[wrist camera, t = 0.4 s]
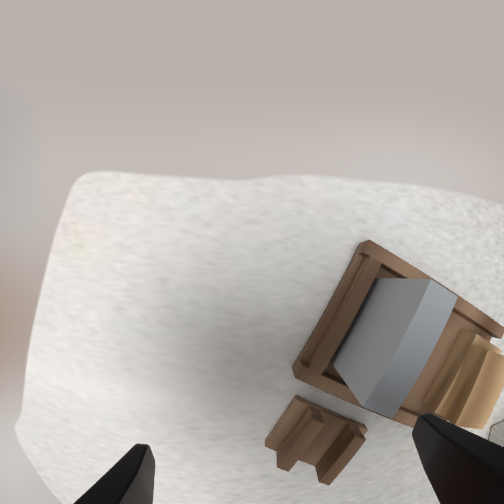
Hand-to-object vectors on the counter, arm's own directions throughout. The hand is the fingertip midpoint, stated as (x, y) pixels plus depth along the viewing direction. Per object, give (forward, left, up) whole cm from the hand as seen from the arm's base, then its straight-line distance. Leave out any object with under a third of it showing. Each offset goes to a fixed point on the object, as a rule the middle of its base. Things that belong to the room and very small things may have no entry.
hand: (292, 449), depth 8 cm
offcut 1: (-16, -5, -14) cm, 21 cm away
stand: (-7, +5, -15) cm, 17 cm away
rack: (-10, -5, -15) cm, 18 cm away
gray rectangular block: (-5, -5, -14) cm, 16 cm away
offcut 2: (-16, -4, -12) cm, 20 cm away
